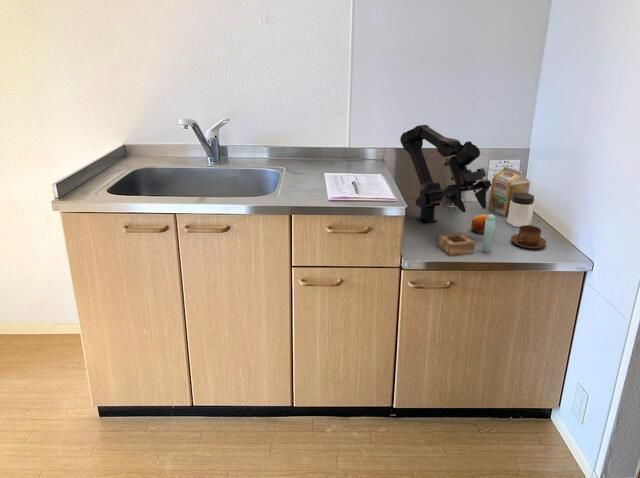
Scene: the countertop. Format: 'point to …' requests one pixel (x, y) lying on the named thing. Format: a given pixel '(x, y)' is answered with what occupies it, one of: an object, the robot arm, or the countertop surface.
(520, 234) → the cup and saucer
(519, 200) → the jar
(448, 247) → the wooden square socket block
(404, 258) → the countertop surface
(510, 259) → the countertop surface
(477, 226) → the fruit
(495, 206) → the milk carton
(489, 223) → the dowel
